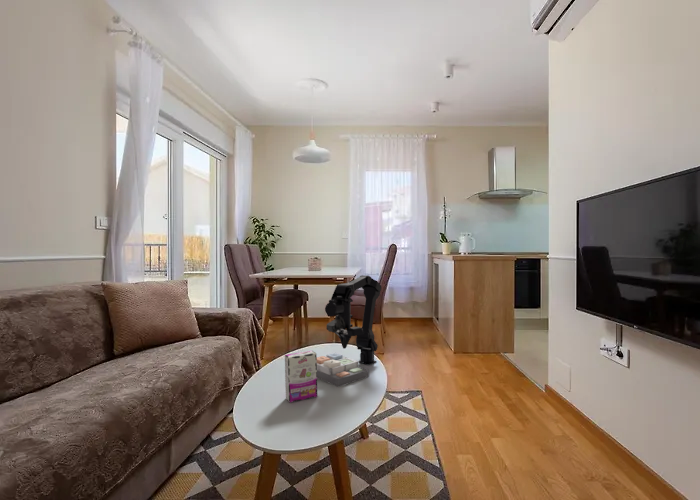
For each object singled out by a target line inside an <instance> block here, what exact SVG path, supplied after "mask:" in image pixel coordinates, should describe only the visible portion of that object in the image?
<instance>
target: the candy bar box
mask: <svg viewBox="0 0 700 500" xmlns="http://www.w3.org/2000/svg"><path fill="white" fill-rule="evenodd" d="M317 357H318V356H317V353H316V352H315V351H314V350H307V351H301V352H295V353H287V354H284V374H285V375H284V379H285V380H284V381H285V382H284V383H285V385H284V386H285V399H286V400H287V401H288V402H289V403H294V402H299V401H304V399H305V400H309V399H314V398H318V378H317Z"/></svg>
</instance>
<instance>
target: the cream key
mask: <svg viewBox="0 0 700 500" xmlns="http://www.w3.org/2000/svg"><path fill="white" fill-rule="evenodd" d="M340 365H341V362H339V361H336V360H334V359H332V360H328V361H325V362H324V366H327V367H330V368H333V367H336V366H340Z"/></svg>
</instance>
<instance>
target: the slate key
mask: <svg viewBox="0 0 700 500" xmlns="http://www.w3.org/2000/svg"><path fill="white" fill-rule="evenodd" d="M326 357H328V358H330V360H332V359H334V360H338V359H342V358H343V357H344V356H343V354H340V353H337V352H334V353H333V352H332V353H329V354H326Z"/></svg>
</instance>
